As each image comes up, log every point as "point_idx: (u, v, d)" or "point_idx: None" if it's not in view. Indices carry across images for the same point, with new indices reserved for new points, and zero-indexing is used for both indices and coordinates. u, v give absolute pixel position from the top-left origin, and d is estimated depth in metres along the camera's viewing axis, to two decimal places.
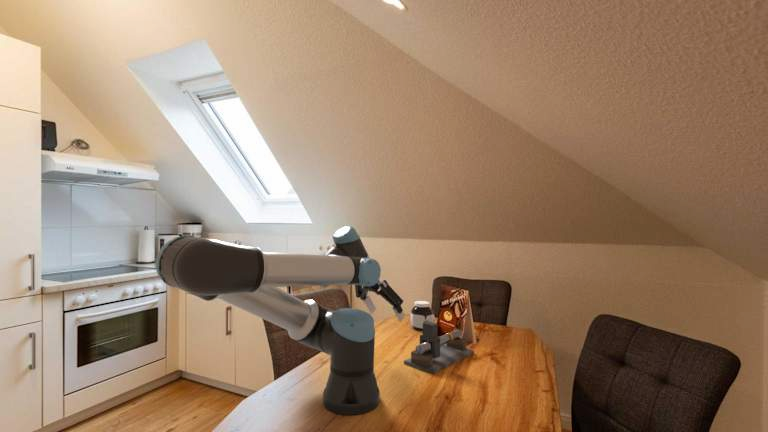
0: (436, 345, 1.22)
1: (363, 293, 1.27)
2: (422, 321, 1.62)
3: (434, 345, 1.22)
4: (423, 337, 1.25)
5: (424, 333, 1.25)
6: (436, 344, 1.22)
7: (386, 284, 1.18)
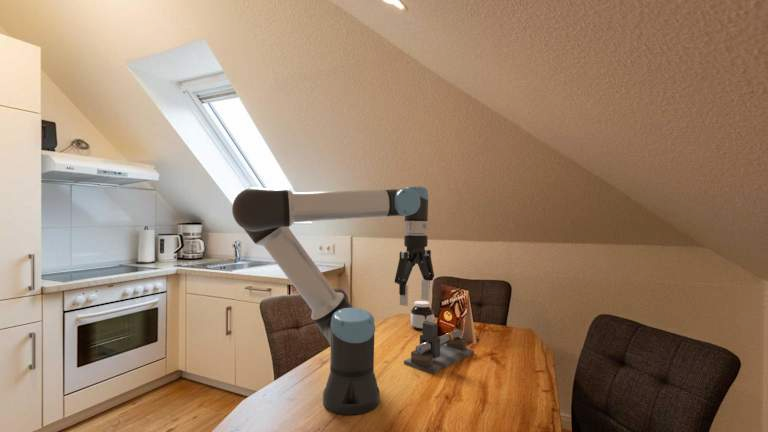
0: (436, 345, 1.22)
1: None
2: (422, 321, 1.62)
3: (434, 345, 1.22)
4: (423, 337, 1.25)
5: (424, 333, 1.25)
6: (436, 344, 1.22)
7: (403, 256, 1.14)
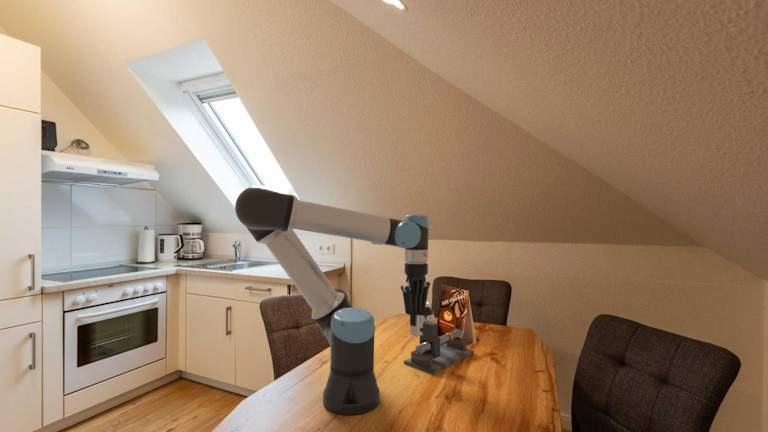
0: (436, 345, 1.22)
1: None
2: (422, 321, 1.62)
3: (434, 345, 1.22)
4: (423, 337, 1.25)
5: (424, 333, 1.25)
6: (436, 344, 1.22)
7: (406, 291, 1.14)
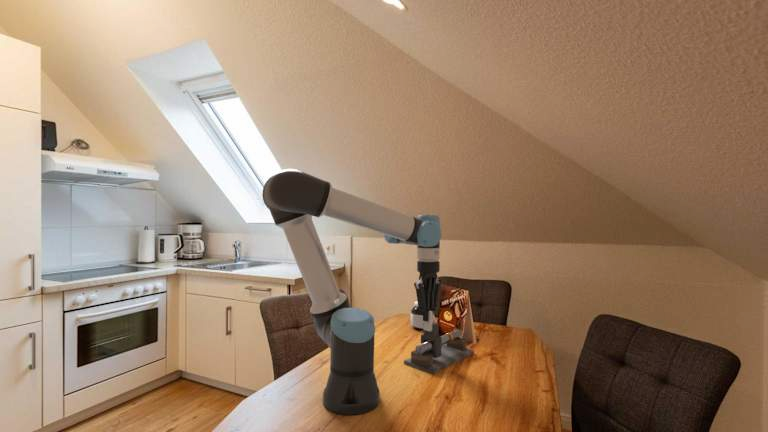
0: (437, 345, 1.23)
1: None
2: (422, 321, 1.62)
3: (435, 345, 1.22)
4: (424, 337, 1.25)
5: (425, 333, 1.25)
6: (437, 344, 1.23)
7: (419, 288, 1.19)
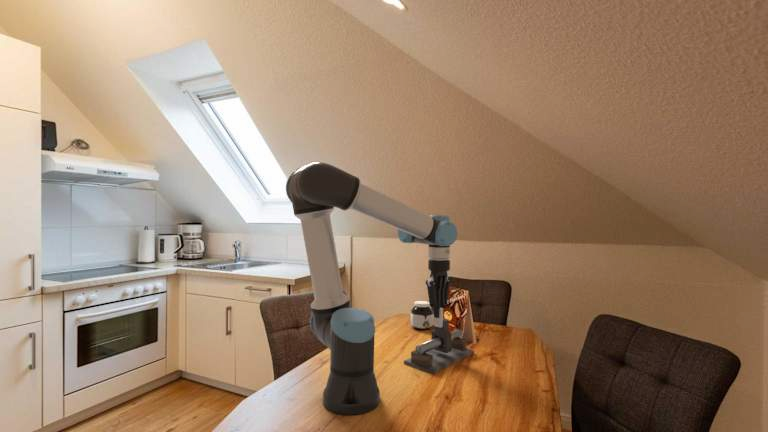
0: (448, 340, 1.27)
1: None
2: (422, 321, 1.62)
3: (446, 340, 1.27)
4: (435, 332, 1.30)
5: (436, 329, 1.30)
6: (448, 339, 1.27)
7: (430, 285, 1.24)
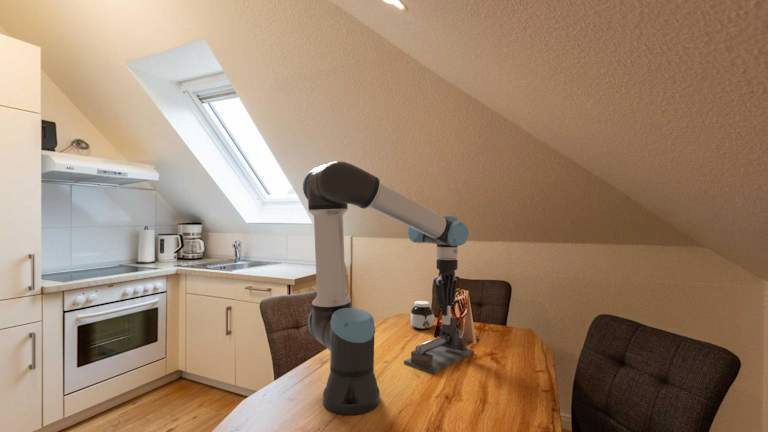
0: (455, 337, 1.31)
1: None
2: (422, 321, 1.62)
3: (453, 337, 1.31)
4: (443, 329, 1.34)
5: (444, 326, 1.33)
6: (455, 336, 1.31)
7: (439, 284, 1.28)
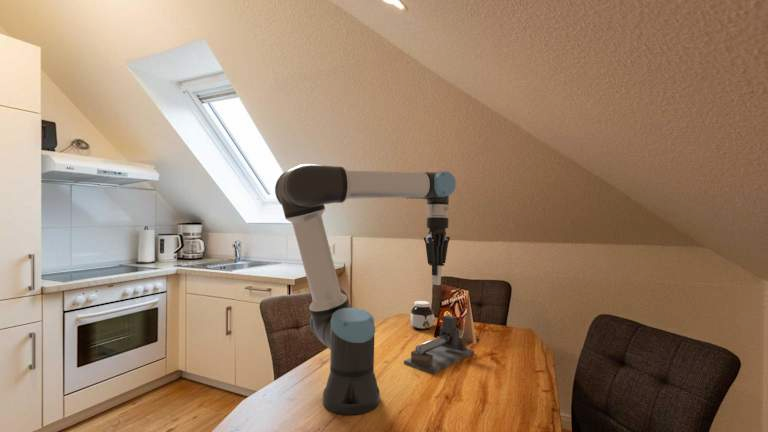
0: (455, 337, 1.31)
1: None
2: (422, 321, 1.62)
3: (453, 337, 1.31)
4: (443, 329, 1.34)
5: (444, 326, 1.34)
6: (455, 336, 1.31)
7: (428, 242, 1.24)
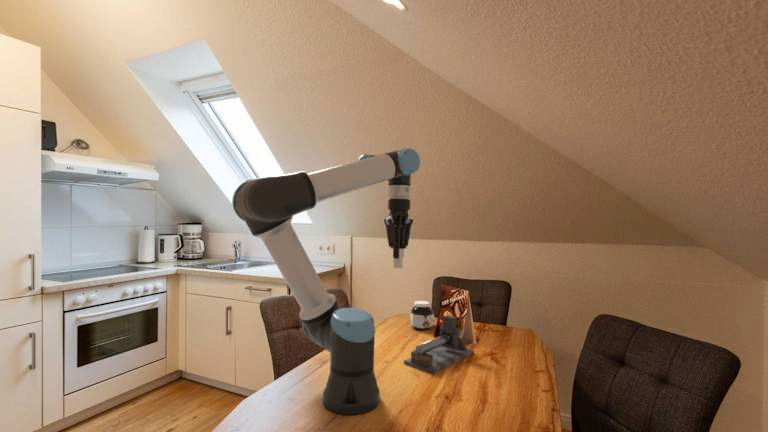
0: (455, 337, 1.31)
1: None
2: (422, 321, 1.62)
3: (453, 337, 1.31)
4: (443, 329, 1.34)
5: (444, 326, 1.34)
6: (455, 336, 1.31)
7: (388, 223, 1.20)
